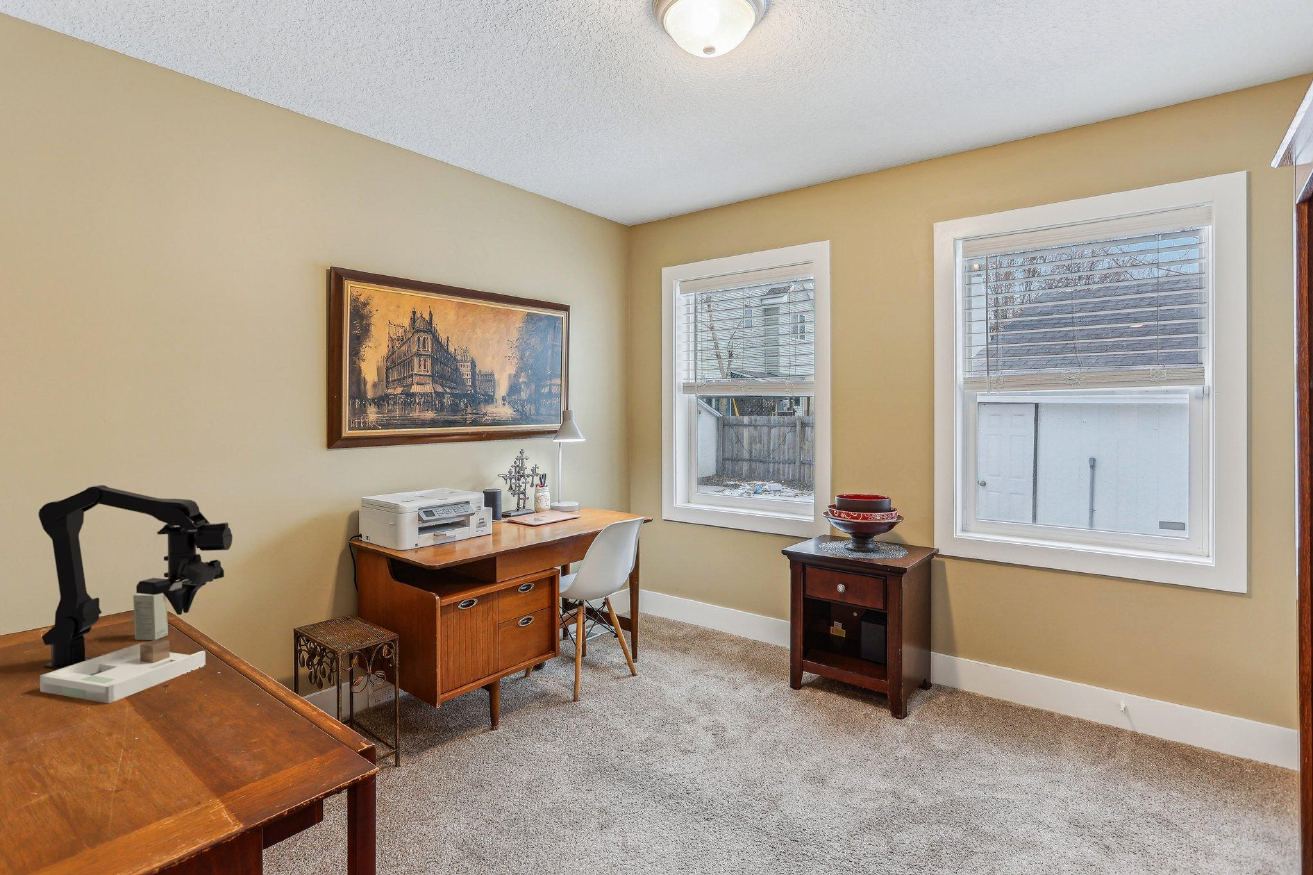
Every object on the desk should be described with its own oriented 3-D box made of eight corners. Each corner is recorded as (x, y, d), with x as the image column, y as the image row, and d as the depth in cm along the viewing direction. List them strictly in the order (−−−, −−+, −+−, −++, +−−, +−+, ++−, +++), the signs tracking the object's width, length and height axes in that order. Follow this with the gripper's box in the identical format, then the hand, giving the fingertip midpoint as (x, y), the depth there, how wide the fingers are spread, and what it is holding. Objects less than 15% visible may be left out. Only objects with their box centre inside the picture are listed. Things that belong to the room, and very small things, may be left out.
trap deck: (40, 691, 144) (39, 675, 144) (142, 656, 165) (142, 642, 165) (108, 703, 139) (108, 686, 139) (205, 665, 160) (205, 651, 160)
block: (140, 661, 157) (140, 644, 157) (156, 655, 161) (156, 639, 161) (153, 663, 156) (153, 646, 156) (169, 657, 160) (169, 640, 160)
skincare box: (168, 635, 181) (168, 591, 180) (155, 640, 176) (154, 595, 176) (147, 634, 181) (146, 590, 181) (133, 639, 177) (132, 594, 177)
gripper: (170, 561, 153) (171, 628, 154) (240, 546, 171) (241, 606, 172) (134, 558, 156) (135, 623, 157) (206, 543, 174) (207, 602, 175)
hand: (182, 613), depth 165 cm, fingers closed
